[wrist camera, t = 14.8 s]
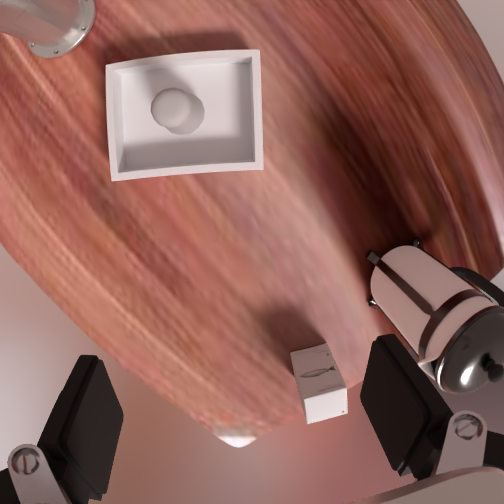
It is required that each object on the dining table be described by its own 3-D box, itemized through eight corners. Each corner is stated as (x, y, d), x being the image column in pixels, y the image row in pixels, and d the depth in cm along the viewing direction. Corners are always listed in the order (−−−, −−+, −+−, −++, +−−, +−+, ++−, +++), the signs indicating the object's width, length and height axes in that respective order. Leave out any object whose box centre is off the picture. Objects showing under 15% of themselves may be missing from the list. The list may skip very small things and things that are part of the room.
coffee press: (393, 323, 58) (476, 433, 30) (340, 283, 53) (429, 413, 25) (449, 255, 54) (559, 336, 26) (403, 204, 49) (540, 279, 21)
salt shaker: (214, 113, 41) (211, 104, 29) (185, 143, 42) (171, 147, 30) (184, 86, 39) (169, 68, 27) (155, 116, 40) (130, 110, 28)
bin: (117, 71, 38) (105, 65, 33) (255, 58, 39) (259, 49, 35) (122, 176, 44) (111, 181, 39) (259, 165, 45) (263, 169, 40)
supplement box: (327, 341, 57) (348, 387, 46) (329, 369, 60) (348, 414, 48) (288, 350, 57) (303, 399, 46) (293, 378, 60) (307, 425, 48)
